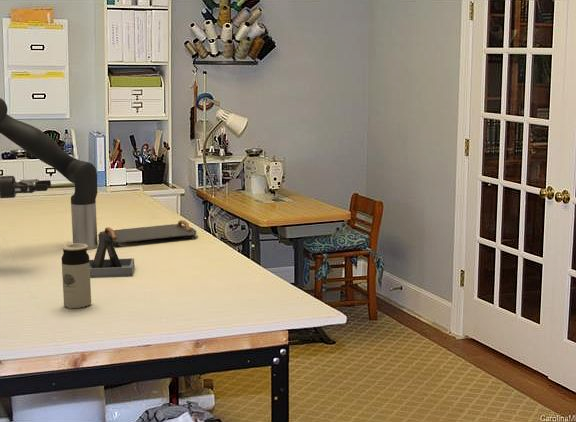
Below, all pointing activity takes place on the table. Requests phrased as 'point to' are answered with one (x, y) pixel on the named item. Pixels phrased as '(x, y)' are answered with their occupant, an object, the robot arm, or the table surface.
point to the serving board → (150, 232)
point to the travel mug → (76, 276)
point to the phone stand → (101, 253)
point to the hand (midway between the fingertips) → (49, 185)
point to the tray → (113, 269)
